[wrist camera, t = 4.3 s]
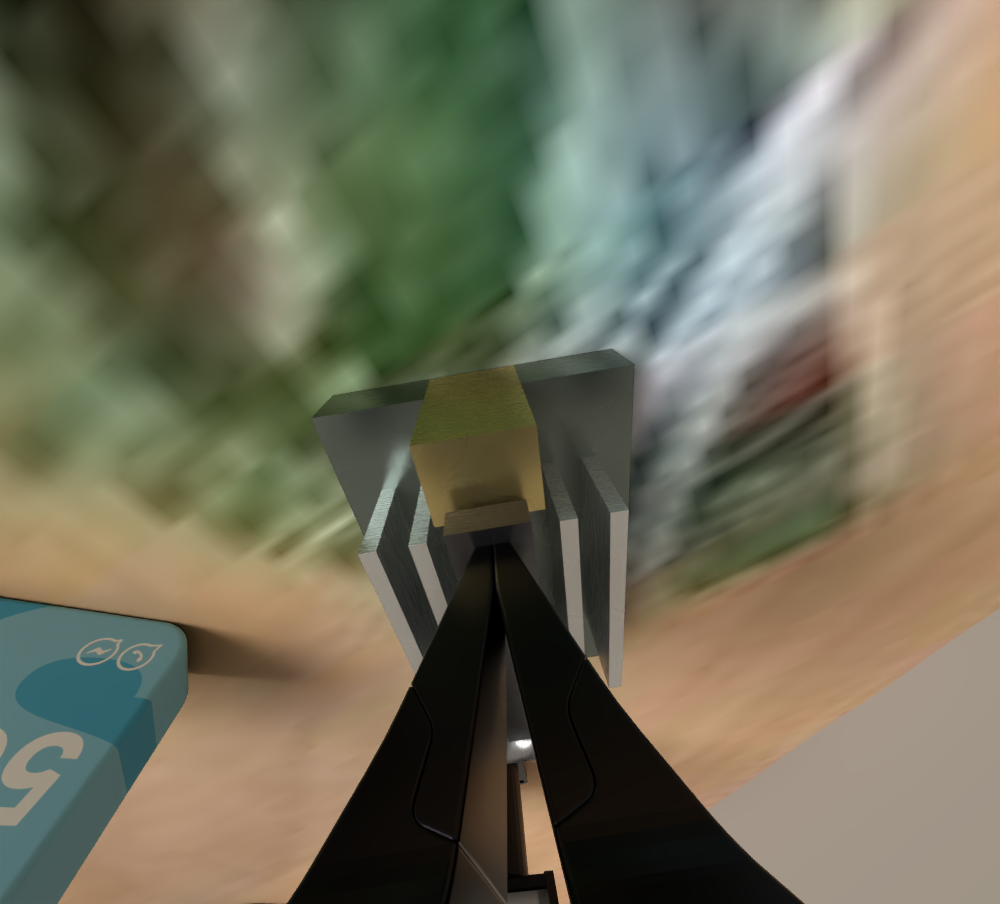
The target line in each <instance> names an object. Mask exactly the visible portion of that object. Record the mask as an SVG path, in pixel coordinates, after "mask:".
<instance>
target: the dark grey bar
mask: <svg viewBox="0 0 1000 904" xmlns="http://www.w3.org/2000/svg"><path fill="white" fill-rule="evenodd" d="M443 537H444V540H445V543H446V546H447V550H448V553H449V556H450V559H451V562H452V565H453V569H454V572H455V575H456V578H457V581H458V583H459V580H460V578H461V576H462V574H463V572H464V570H465V568H466V566H467V563H468V561H469V559H470V557H471V555H472V553H473V551H474V549H475V548H476V547H480V546H487V545H491V546H492V547H493V545H494V544H499V543H505V542H510V543H511V544H512V546H513V547H514V549H515V551H516V552H517V554H518V555H519V557H520V558H521V560H522V561H523V563H524V564H525V566H526V567H527V569H528V570H529V572H530V573H531V575H532V576H533V578H534V579H535V581H536V582H537V584H538V585H539V587H540V584H539V576H538V569H537V561H536V554H535V546H534V539H533V531H532V524H531V518H530V514H529V509H528V505H527V501H526V499H525V500H519V501H512V502H506V503H500V504H494V505H488V506H482V507H476V508H470V509H464V510H458V511H452V512H446V513H445V521H444V533H443ZM506 706H507V764H512V763H518V762H524V761H531V760H536V758H535V754H534V750H533V746H532V741H531V737H530V733H529V729H528V725H527V721H526V716H525V712H524V708H523V704H522V700H521V696H520V692H519V687H518V683H517V679H516V675H515V671H514V667H513V663H512V658H511V654H510V650H509V646H508V642H507V637H506Z"/></svg>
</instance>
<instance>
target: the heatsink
mask: <svg viewBox="0 0 1000 904" xmlns="http://www.w3.org/2000/svg"><path fill="white" fill-rule="evenodd" d="M633 385H634V364H633V363H632V362H630V361H629V360H627V359H626V358H624V357H623V356H621V355H620V354H618V353H617V352H616V351H614V350H613V349H607V350H601V351H595V352H589V353H583V354H577V355H571V356H566V357H560V358H554V359H548V360H542V361H536V362H530V363H524V364H518V365H512V366H506V367H500V368H494V369H488V370H482V371H476V372H470V373H464V374H458V375H452V376H446V377H440V378H434V379H428V380H423V381H417V382H411V383H405V384H399V385H393V386H387V387H381V388H375V389H369V390H363V391H357V392H351V393H345V394H339V395H333V396H332V397H331V398H330V399H329V400H328V401H327V402H326V403H325V404H324V405H323V406H322V407H321V408H320V409H319V411H318V412H317V413H316V414H315V415H314V416H313V417H312V418H311V420H312V422H313V424H314V426H315V429H316V431H317V433H318V435H319V438H320V440H321V442H322V444H323V446H324V449H325V451H326V453H327V455H328V457H329V460H330V462H331V464H332V466H333V469H334V471H335V473H336V475H337V477H338V480H339V482H340V484H341V486H342V489H343V491H344V493H345V495H346V497H347V500H348V502H349V504H350V506H351V508H352V511H353V513H354V515H355V517H356V520H357V522H358V524H359V526H360V528H361V531H362V533H363V535H364V539H363V542H362V545H361V548H360V550H359V553H358V556H359V558H360V560H361V562H362V564H363V566H364V568H365V570H366V572H367V574H368V576H369V578H370V581H371V583H372V585H373V587H374V589H375V591H376V593H377V595H378V597H379V599H380V601H381V604H382V606H383V608H384V610H385V612H386V614H387V616H388V618H389V620H390V622H391V624H392V627H393V629H394V631H395V633H396V635H397V637H398V639H399V641H400V643H401V645H402V647H403V650H404V652H405V654H406V656H407V658H408V660H409V662H410V664H411V666H412V668H413V670H414V672H415V674H416V672H417V670H418V668H419V666H420V664H421V662H422V659H423V657H424V655H425V653H426V651H427V649H428V647H429V645H430V642H431V640H432V638H433V636H434V634H435V632H436V630H437V627H438V625H439V623H440V621H441V619H442V617H443V615H444V612H445V610H446V608H447V606H448V604H449V602H450V600H451V598H452V595H453V593H454V591H455V589H456V587H457V585H458V581H457V578H456V575H455V572H454V569H453V565H452V562H451V559H450V556H449V553H448V550H447V546H446V543H445V540H444V537H443V533H444V521H445V513H446V512H452V511H458V510H464V509H470V508H476V507H482V506H488V505H494V504H500V503H506V502H512V501H519V500H525V499H526V501H527V505H528V509H529V514H530V518H531V524H532V531H533V539H534V546H535V554H536V561H537V569H538V576H539V584H540V588H541V590H542V591H543V593H544V594H545V596H546V597H547V599H548V600H549V602H550V603H551V605H552V606H553V608H554V609H555V611H556V612H557V614H558V615H559V617H560V618H561V620H562V621H563V623H564V624H565V626H566V627H567V629H568V630H569V632H570V633H571V635H572V636H573V638H574V639H575V641H576V642H577V644H578V645H579V647H580V648H581V650H582V651H583V653H584V654H585V656H586V659H587V657H592V656H598V655H599V658H600V661H601V664H602V668H603V671H604V674H605V677H606V680H607V683H608V686H609V688H614V687H620V686H622V663H623V638H624V614H625V589H626V564H627V540H628V515H629V485H630V460H631V435H632V410H633Z"/></svg>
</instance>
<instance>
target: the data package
mask: <svg viewBox="0 0 1000 904" xmlns="http://www.w3.org/2000/svg"><path fill="white" fill-rule="evenodd" d="M187 694H188V655H187V638H186V636H185V634H184V632H183V631H182V630H181V629H180V628H179V627H177V626H175V625H173V624H170V623H166V622H160V621H154V620H147V619H140V618H133V617H127V616H120V615H113V614H107V613H100V612H93V611H86V610H80V609H73V608H66V607H59V606H53V605H46V604H39V603H33V602H26V601H19V600H12V599H6V598H0V904H58V902H59V900H60V899H61V897H62V896H63V894H64V892H65V891H66V889H67V888H68V886H69V885H70V883H71V881H72V880H73V878H74V877H75V875H76V873H77V872H78V870H79V869H80V867H81V866H82V864H83V862H84V861H85V859H86V858H87V856H88V854H89V853H90V851H91V850H92V848H93V847H94V845H95V843H96V842H97V840H98V839H99V837H100V836H101V834H102V832H103V831H104V829H105V828H106V826H107V824H108V823H109V821H110V820H111V818H112V817H113V815H114V813H115V812H116V810H117V809H118V807H119V805H120V804H121V802H122V801H123V799H124V798H125V796H126V794H127V793H128V791H129V790H130V788H131V786H132V785H133V783H134V782H135V780H136V779H137V777H138V775H139V774H140V772H141V771H142V769H143V768H144V766H145V764H146V763H147V761H148V760H149V758H150V756H151V755H152V753H153V752H154V750H155V749H156V747H157V745H158V744H159V742H160V741H161V739H162V737H163V736H164V734H165V733H166V731H167V730H168V728H169V726H170V725H171V723H172V722H173V720H174V718H175V717H176V715H177V714H178V712H179V711H180V709H181V707H182V706H183V704H184V702H185V700H186V697H187Z"/></svg>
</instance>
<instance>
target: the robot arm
mask: <svg viewBox="0 0 1000 904" xmlns="http://www.w3.org/2000/svg"><path fill="white" fill-rule="evenodd" d="M506 637H507V642H508V646H509V650H510V654H511V658H512V663H513V667H514V671H515V675H516V679H517V683H518V687H519V692H520V696H521V700H522V704H523V708H524V712H525V716H526V721H527V725H528V729H529V733H530V737H531V741H532V746H533V750H534V754H535V758H536V762H537V766H538V770H539V775H540V779H541V783H542V787H543V791H544V795H545V800H546V804H547V808H548V812H549V816H550V820H551V824H552V829H553V833H554V837H555V841H556V845H557V849H558V853H559V858H560V862H561V866H562V870H563V874H564V878H565V883H566V887H567V891H568V895H569V899H570V903H571V904H804V903H803V902H802V901H801V900H799V899H798V898H797V897H796V896H795V895H794V894H793V893H792V892H791V891H789V890H788V889H787V888H786V887H785V886H784V885H782V884H781V883H780V882H779V881H778V880H777V879H776V878H774V877H773V876H772V875H771V874H770V873H769V872H768V871H766V870H765V869H764V868H763V867H762V866H761V865H760V864H758V863H757V862H756V861H755V860H754V859H753V858H752V857H751V856H750V855H749V854H748V853H747V852H746V851H745V850H744V849H743V848H742V847H741V846H740V845H739V844H738V843H737V842H736V841H735V840H734V839H733V838H732V837H731V836H730V835H729V834H728V833H727V832H726V831H725V830H724V829H723V827H722V826H721V825H720V824H719V823H718V822H717V821H716V820H715V819H714V818H713V816H712V815H711V814H710V813H709V812H708V811H707V809H706V808H705V807H704V806H703V805H702V804H701V802H700V801H699V800H698V799H697V798H696V796H695V795H694V794H693V793H692V792H691V790H690V789H689V788H688V787H687V786H686V784H685V783H684V782H683V781H682V780H681V778H680V777H679V776H678V775H677V774H676V773H675V771H674V770H673V769H672V768H671V767H670V765H669V764H668V763H667V762H666V761H665V759H664V758H663V757H662V756H661V755H660V753H659V752H658V751H657V750H656V749H655V747H654V746H653V745H652V744H651V743H650V741H649V740H648V739H647V738H646V737H645V735H644V734H643V733H642V732H641V731H640V729H639V728H638V727H637V726H636V724H635V723H634V722H633V721H632V719H631V718H630V717H629V716H628V714H627V713H626V712H625V710H624V709H623V708H622V707H621V705H620V704H619V703H618V702H617V700H616V699H615V697H614V696H613V695H612V693H611V692H610V690H609V689H608V688H607V686H606V685H605V683H604V682H603V680H602V679H601V678H600V676H599V675H598V673H597V672H596V670H595V669H594V667H593V666H592V664H591V663H590V661H589V660H588V659H586V656H585V654H584V653H583V651H582V650H581V648H580V647H579V645H578V644H577V642H576V641H575V639H574V638H573V636H572V635H571V633H570V632H569V630H568V629H567V627H566V626H565V624H564V623H563V621H562V620H561V618H560V617H559V615H558V614H557V612H556V611H555V609H554V608H553V606H552V605H551V603H550V602H549V600H548V599H547V597H546V596H545V594H544V593H543V591H542V590H541V588H540V587H539V585H538V584H537V582H536V581H535V579H534V578H533V576H532V575H531V573H530V572H529V570H528V569H527V567H526V566H525V564H524V563H523V561H522V560H521V558H520V557H519V555H518V554H517V552H516V551H515V549H514V547H513V546H512V544H511V543H510V542H505V543H499V544H494V545H493V547H492V546H491V545H487V546H480V547H476V548H475V549H474V551H473V553H472V555H471V557H470V559H469V561H468V563H467V566H466V568H465V570H464V572H463V574H462V576H461V578H460V580H459V583H458V585H457V587H456V589H455V591H454V593H453V595H452V598H451V600H450V602H449V604H448V606H447V608H446V610H445V612H444V615H443V617H442V619H441V621H440V623H439V625H438V627H437V630H436V632H435V634H434V636H433V638H432V640H431V642H430V645H429V647H428V649H427V651H426V653H425V655H424V657H423V659H422V662H421V664H420V666H419V668H418V670H417V672H416V674H415V677H414V679H413V681H412V683H411V684H412V687H409V689H408V691H407V693H406V695H405V697H404V700H403V702H402V704H401V706H400V708H399V710H398V712H397V714H396V716H395V718H394V720H393V722H392V724H391V726H390V728H389V730H388V732H387V734H386V736H385V738H384V740H383V742H382V744H381V745H380V747H379V749H378V751H377V753H376V754H375V756H374V758H373V760H372V762H371V763H370V765H369V767H368V769H367V770H366V772H365V774H364V776H363V777H362V779H361V781H360V783H359V784H358V786H357V788H356V789H355V791H354V793H353V795H352V796H351V798H350V800H349V801H348V803H347V805H346V807H345V808H344V810H343V812H342V813H341V815H340V817H339V819H338V820H337V822H336V824H335V826H334V827H333V829H332V831H331V832H330V834H329V836H328V838H327V839H326V841H325V843H324V844H323V846H322V848H321V850H320V851H319V853H318V855H317V856H316V858H315V860H314V862H313V863H312V865H311V867H310V868H309V870H308V872H307V873H306V875H305V877H304V878H303V880H302V882H301V883H300V885H299V886H298V888H297V889H296V891H295V892H294V894H293V895H292V897H291V898H290V900H289V901H288V902H287V904H559V902H558V897H557V891H556V885H555V879H554V874H553V870H552V871H544V874H534V875H528V866H527V855H526V845H525V834H524V823H523V813H522V802H521V791H520V784H525V783H526V782H527V774H526V770H525V766H524V763H523V762H518V763H512V764H507V706H506Z"/></svg>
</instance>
